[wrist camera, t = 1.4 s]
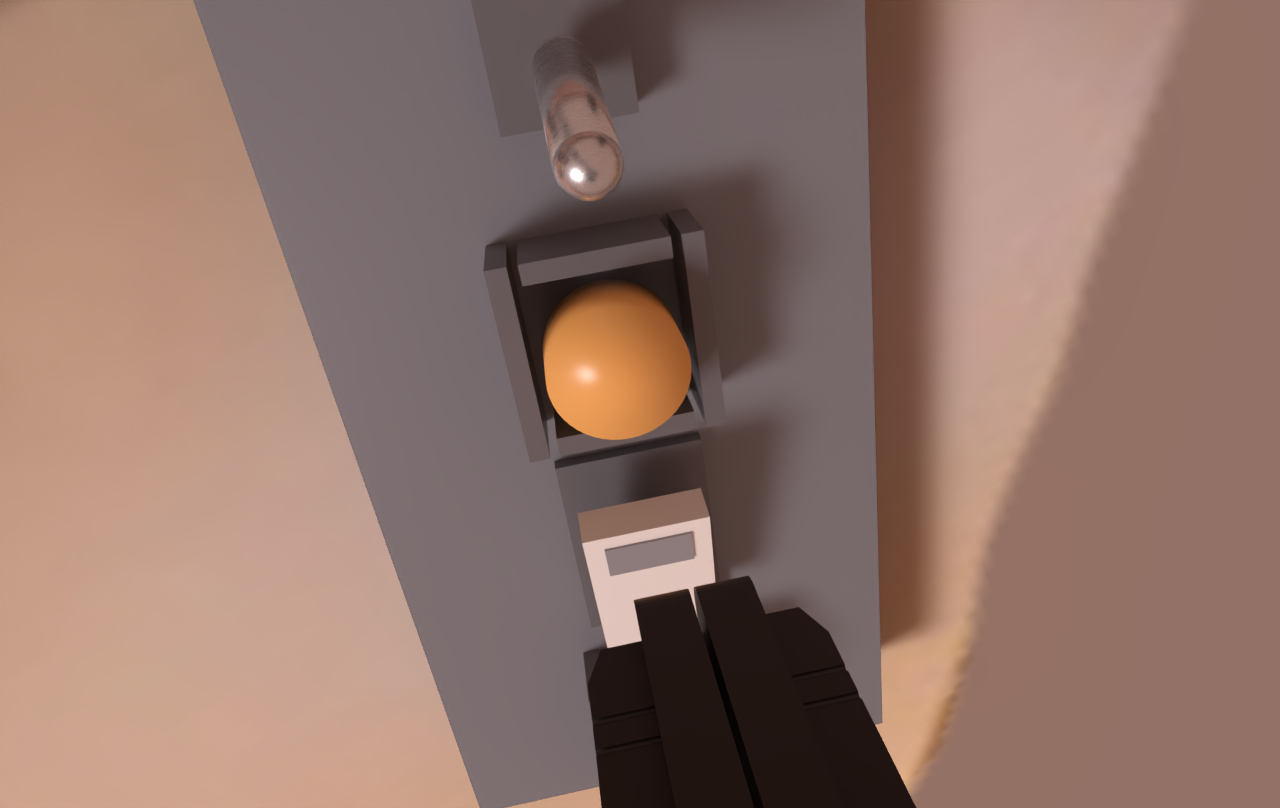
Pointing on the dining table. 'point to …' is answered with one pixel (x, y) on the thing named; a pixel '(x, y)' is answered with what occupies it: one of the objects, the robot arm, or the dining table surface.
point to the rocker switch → (645, 555)
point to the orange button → (614, 360)
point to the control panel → (539, 279)
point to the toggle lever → (576, 120)
